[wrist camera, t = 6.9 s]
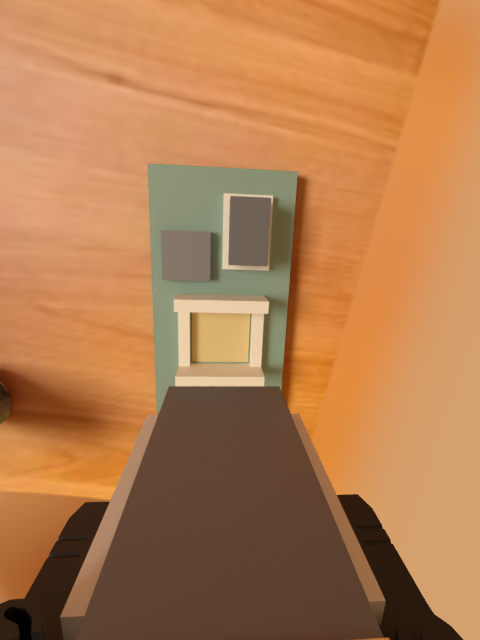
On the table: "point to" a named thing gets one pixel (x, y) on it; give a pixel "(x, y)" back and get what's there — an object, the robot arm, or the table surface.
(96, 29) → the table surface
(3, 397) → the beverage can
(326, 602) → the plug
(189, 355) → the board
